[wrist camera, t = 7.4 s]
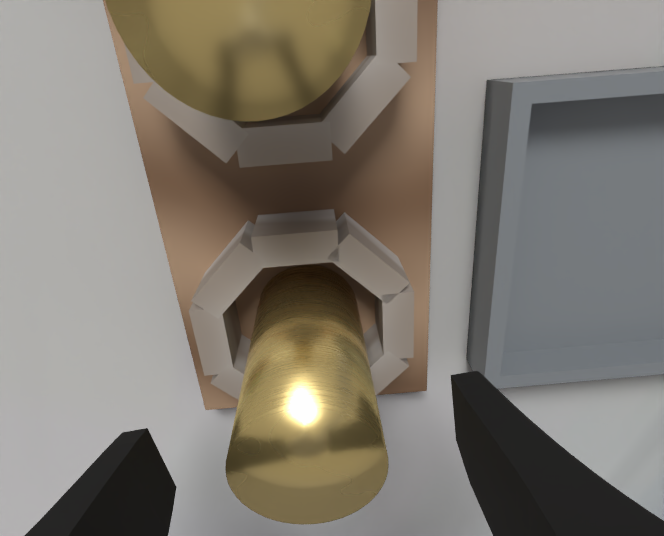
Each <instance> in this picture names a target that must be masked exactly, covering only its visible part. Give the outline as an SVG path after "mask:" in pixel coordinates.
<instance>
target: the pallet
mask: <svg viewBox="0 0 664 536" xmlns="http://www.w3.org/2000/svg"><path fill="white" fill-rule="evenodd" d="M103 2H104V6H105V10H106V14H107V18H108V22H109V26H110V30H111V34H112V38H113V42H114V46H115V50H116V54H117V58H118V62H119V66H120V70H121V74H122V78H123V82H124V86H125V90H126V94H127V98H128V102H129V106H130V110H131V114H132V118H133V122H134V126H135V130H136V134H137V138H138V142H139V146H140V150H141V154H142V158H143V162H144V166H145V170H146V174H147V178H148V182H149V186H150V190H151V194H152V198H153V202H154V206H155V210H156V214H157V218H158V222H159V226H160V230H161V234H162V238H163V242H164V246H165V250H166V254H167V258H168V262H169V266H170V270H171V274H172V278H173V282H174V286H175V290H176V294H177V298H178V302H179V306H180V310H181V314H182V318H183V322H184V326H185V330H186V334H187V338H188V342H189V346H190V350H191V354H192V358H193V362H194V366H195V369H196V373H197V377H198V381H199V385H200V389H201V393H202V397H203V401H204V405H205V409H206V410H211V409H223V408H234V407H237V406H238V401H239V396H240V391H241V386H242V381H243V377H244V372H245V367H246V362H247V357H248V352H249V347H250V343H251V338H252V333H253V328H254V323H255V318H256V313H257V309H258V304H259V299H260V296H261V293H262V291H263V289H264V287H265V286H266V285H267V283H268V282H269V281H270V280H271V279H272V278H273V277H274V276H276V275H277V274H278V273H280V272H282V271H284V270H286V269H289V268H291V267H295V266H301V265H315V266H321V267H325V268H328V269H330V270H332V271H334V272H336V273H338V274H339V275H340V276H342V277H343V278H344V279H345V280H346V281H347V282H348V283H349V285H350V286H351V288H352V289H353V291H354V294H355V296H356V300H357V305H358V310H359V315H360V320H361V325H362V330H363V335H364V340H365V345H366V350H367V355H368V360H369V365H370V370H371V375H372V380H373V385H374V390H375V395H383V394H394V393H405V392H417V391H427V359H428V323H429V287H430V252H431V216H432V180H433V145H434V109H435V73H436V38H437V2H438V0H371V6H370V12H369V16H368V20H367V23H366V27H365V30H364V33H363V36H362V38H361V41H360V43H359V46H358V48H357V50H356V52H355V54H354V55H353V57H352V59H351V61H350V63H349V64H348V66H347V67H346V68H345V70H344V71H343V73H342V74H341V76H340V77H339V78H338V79H337V80H336V81H335V82H334V83H333V85H332V86H331V87H330V88H329V89H328V90H327V91H325V92H324V93H323V94H322V95H321V96H319V97H318V98H317V99H316V100H314V101H313V102H311V103H310V104H308V105H306V106H305V107H303V108H301V109H299V110H297V111H295V112H292V113H290V114H288V115H285V116H281V117H278V118H275V119H269V120H263V121H234V120H226V119H222V118H218V117H215V116H211V115H208V114H205V113H203V112H200V111H198V110H195V109H193V108H191V107H190V106H188V105H186V104H184V103H182V102H181V101H179V100H177V99H176V98H175V97H173V96H172V95H170V94H169V93H168V92H166V91H165V90H164V89H163V88H161V87H160V86H159V85H158V84H157V83H156V82H155V81H154V80H153V79H152V78H150V76H149V75H148V74H147V73H146V72H145V71H144V70H143V69H142V67H141V66H140V65H139V64H138V63H137V61H136V60H135V58H134V57H133V56H132V54H131V53H130V51H129V50H128V49H127V47H126V45H125V44H124V42H123V40H122V38H121V36H120V35H119V33H118V31H117V29H116V27H115V25H114V22H113V20H112V18H111V15H110V13H109V11H108V7H107V4H106V1H105V0H103Z"/></svg>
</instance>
